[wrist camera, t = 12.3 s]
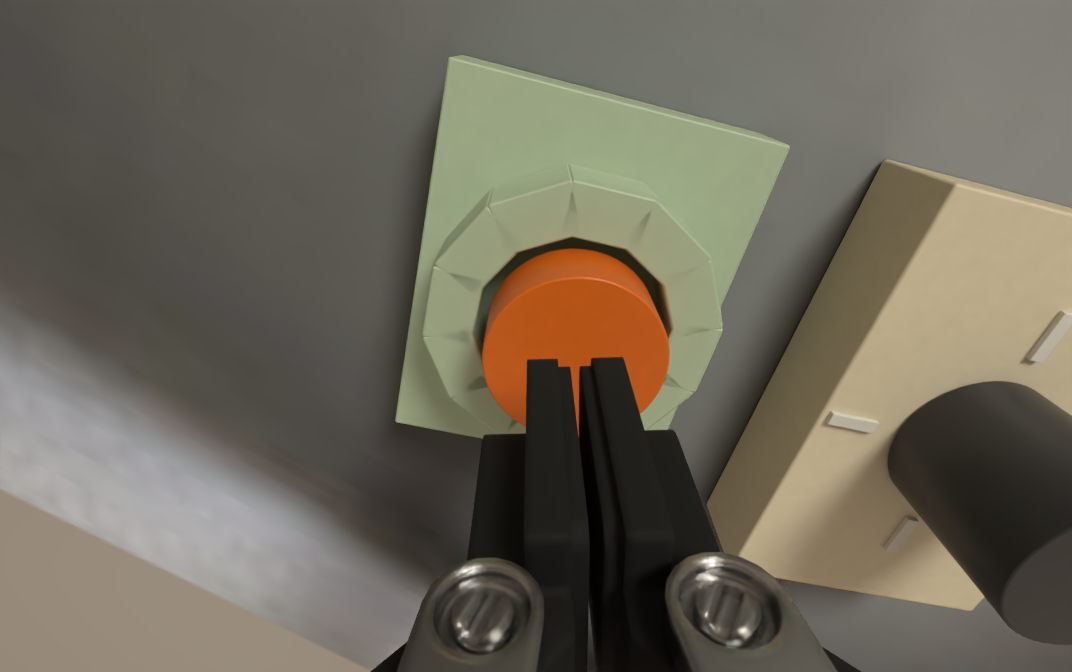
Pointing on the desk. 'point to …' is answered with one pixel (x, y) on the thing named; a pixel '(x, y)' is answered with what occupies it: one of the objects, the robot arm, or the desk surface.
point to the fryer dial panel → (895, 379)
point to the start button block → (572, 225)
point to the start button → (572, 325)
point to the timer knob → (997, 497)
